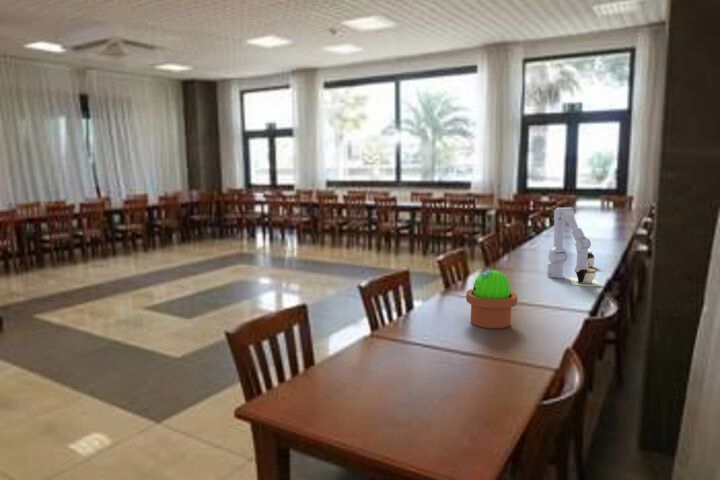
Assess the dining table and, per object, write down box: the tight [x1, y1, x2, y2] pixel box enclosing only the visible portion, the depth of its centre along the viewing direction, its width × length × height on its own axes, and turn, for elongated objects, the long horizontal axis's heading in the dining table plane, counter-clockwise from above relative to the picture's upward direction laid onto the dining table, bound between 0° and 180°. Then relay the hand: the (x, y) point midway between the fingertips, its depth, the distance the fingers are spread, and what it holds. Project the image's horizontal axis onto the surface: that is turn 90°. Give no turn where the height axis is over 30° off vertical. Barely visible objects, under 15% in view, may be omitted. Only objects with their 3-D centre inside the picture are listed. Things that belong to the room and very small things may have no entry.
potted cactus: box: [465, 268, 518, 330], centre depth 237 cm, size 22×22×25 cm
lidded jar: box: [576, 268, 597, 283], centre depth 314 cm, size 11×11×9 cm
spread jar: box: [587, 249, 595, 269], centre depth 358 cm, size 12×11×12 cm
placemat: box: [568, 277, 602, 287], centre depth 317 cm, size 15×19×1 cm
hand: (580, 282), depth 309 cm, fingers closed
